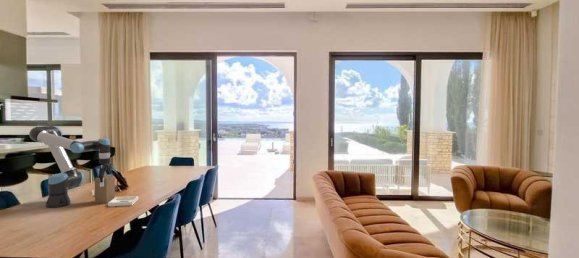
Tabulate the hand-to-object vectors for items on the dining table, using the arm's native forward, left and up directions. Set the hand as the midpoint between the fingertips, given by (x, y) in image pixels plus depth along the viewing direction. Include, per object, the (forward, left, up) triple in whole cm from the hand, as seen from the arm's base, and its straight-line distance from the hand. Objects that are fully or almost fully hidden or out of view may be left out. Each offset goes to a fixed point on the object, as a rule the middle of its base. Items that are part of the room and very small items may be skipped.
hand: (105, 184), depth 244 cm
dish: (+15, -6, -14) cm, 22 cm away
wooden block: (0, 0, -14) cm, 14 cm away
